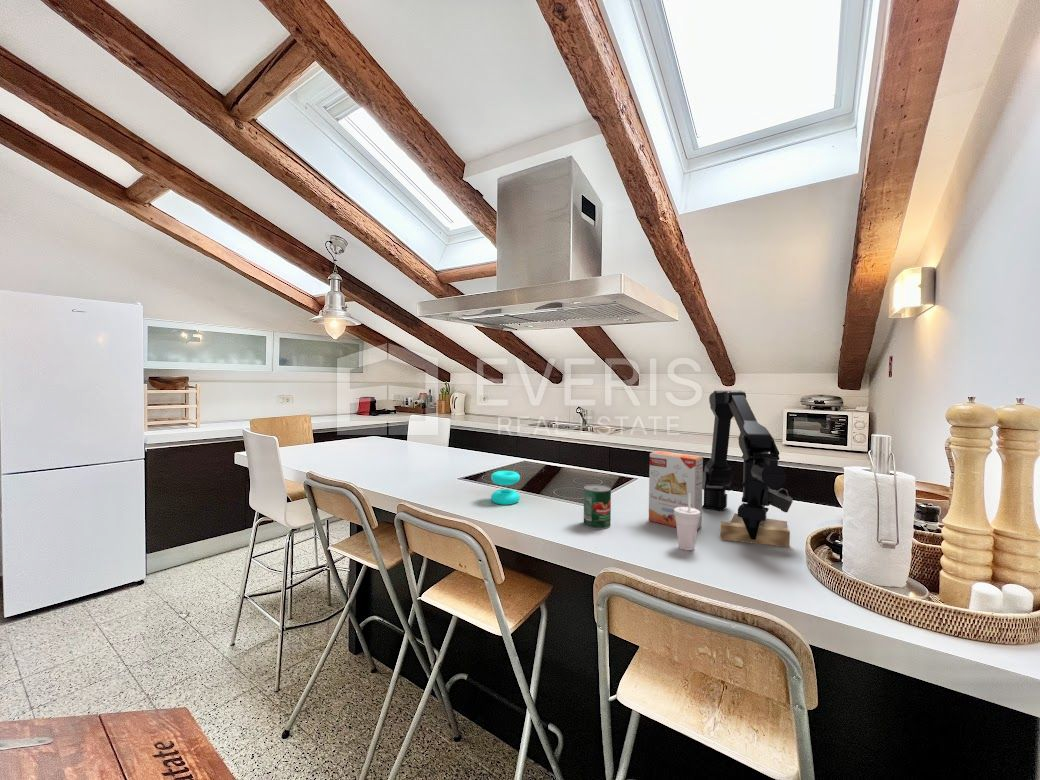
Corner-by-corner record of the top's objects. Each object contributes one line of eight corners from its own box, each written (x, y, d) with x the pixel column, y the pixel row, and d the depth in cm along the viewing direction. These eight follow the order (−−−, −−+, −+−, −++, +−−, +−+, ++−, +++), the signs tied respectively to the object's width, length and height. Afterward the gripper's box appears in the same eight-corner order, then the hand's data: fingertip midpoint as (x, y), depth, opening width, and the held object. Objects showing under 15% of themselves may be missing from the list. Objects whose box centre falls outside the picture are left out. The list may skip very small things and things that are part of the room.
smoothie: (697, 554, 109) (698, 498, 108) (670, 549, 112) (671, 494, 112) (702, 546, 114) (703, 492, 114) (676, 541, 117) (677, 488, 117)
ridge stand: (729, 527, 129) (729, 506, 129) (734, 516, 139) (735, 497, 139) (785, 537, 121) (786, 515, 121) (786, 524, 131) (787, 504, 131)
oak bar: (721, 539, 119) (722, 525, 119) (720, 536, 122) (720, 521, 122) (789, 547, 114) (789, 531, 114) (786, 542, 117) (786, 527, 117)
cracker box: (647, 521, 134) (648, 452, 133) (656, 516, 138) (657, 449, 137) (694, 532, 124) (695, 458, 124) (702, 527, 129) (703, 455, 128)
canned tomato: (590, 518, 136) (591, 483, 136) (615, 523, 131) (615, 486, 131) (578, 525, 129) (579, 488, 129) (603, 531, 125) (604, 492, 125)
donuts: (492, 469, 159) (520, 469, 159) (492, 497, 159) (519, 497, 159) (489, 476, 149) (519, 476, 149) (489, 505, 149) (519, 505, 149)
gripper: (790, 490, 105) (788, 555, 106) (791, 476, 121) (790, 532, 122) (738, 484, 111) (736, 545, 112) (746, 471, 127) (745, 525, 128)
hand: (754, 537), depth 118 cm, fingers closed on oak bar, 4 cm apart
